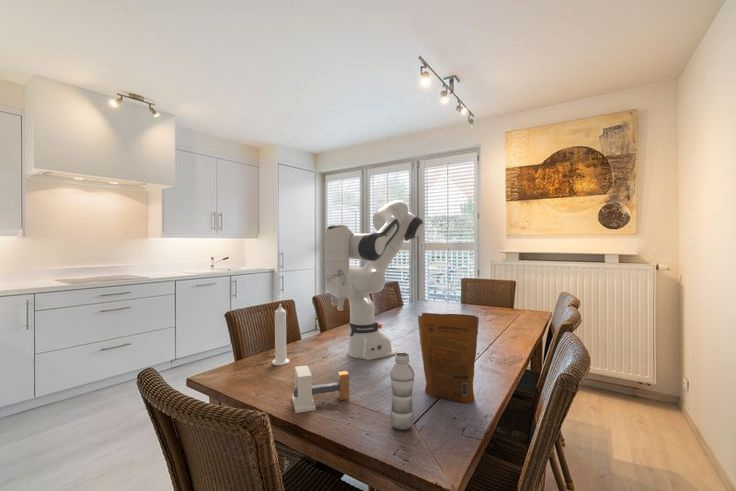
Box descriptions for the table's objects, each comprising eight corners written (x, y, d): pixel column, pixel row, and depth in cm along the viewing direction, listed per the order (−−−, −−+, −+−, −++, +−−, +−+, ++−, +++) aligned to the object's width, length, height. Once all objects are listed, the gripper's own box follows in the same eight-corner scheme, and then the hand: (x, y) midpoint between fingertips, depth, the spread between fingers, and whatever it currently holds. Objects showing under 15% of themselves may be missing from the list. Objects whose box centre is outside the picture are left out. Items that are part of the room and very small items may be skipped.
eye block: (310, 395, 115) (310, 364, 114) (315, 409, 105) (315, 375, 105) (292, 398, 113) (291, 366, 113) (295, 413, 103) (295, 378, 103)
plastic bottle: (388, 421, 99) (387, 351, 98) (411, 420, 99) (411, 350, 99) (391, 433, 92) (391, 359, 92) (416, 432, 93) (416, 358, 92)
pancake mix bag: (477, 408, 106) (477, 317, 105) (417, 396, 114) (417, 311, 114) (480, 399, 112) (480, 313, 111) (423, 388, 120) (423, 308, 120)
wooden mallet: (346, 394, 115) (346, 370, 115) (349, 398, 112) (349, 374, 112) (293, 402, 109) (293, 377, 109) (294, 407, 107) (294, 381, 106)
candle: (285, 366, 142) (284, 305, 141) (269, 365, 143) (268, 304, 142) (292, 360, 148) (291, 302, 148) (276, 359, 150) (276, 301, 149)
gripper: (353, 271, 115) (353, 312, 115) (339, 266, 135) (339, 302, 135) (334, 272, 113) (334, 314, 113) (323, 267, 133) (323, 303, 133)
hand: (337, 307), depth 124 cm, fingers open, 8 cm apart
